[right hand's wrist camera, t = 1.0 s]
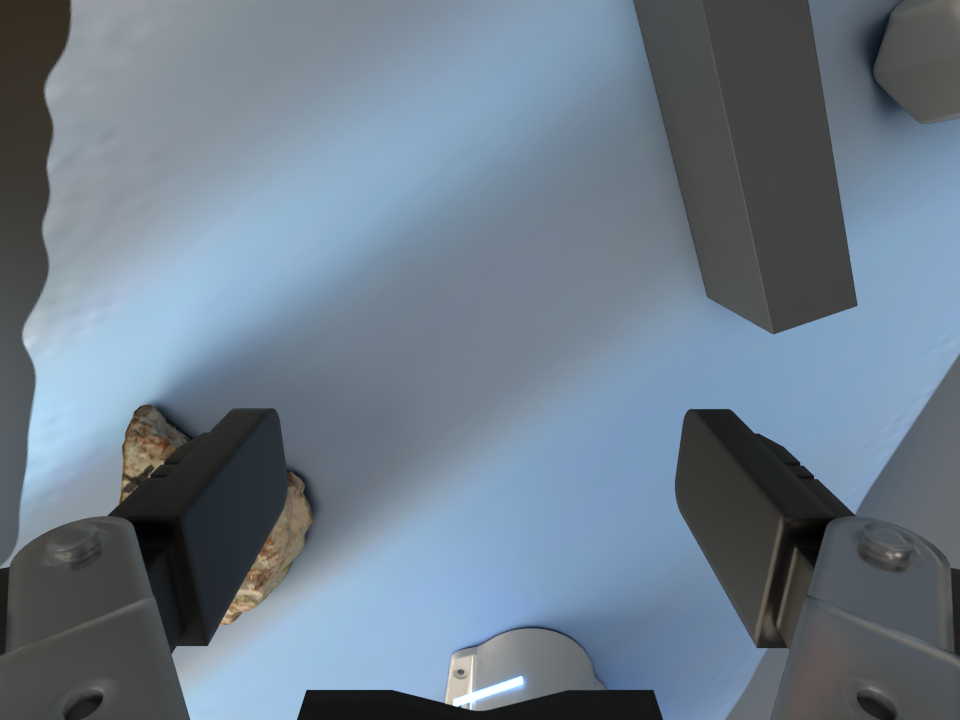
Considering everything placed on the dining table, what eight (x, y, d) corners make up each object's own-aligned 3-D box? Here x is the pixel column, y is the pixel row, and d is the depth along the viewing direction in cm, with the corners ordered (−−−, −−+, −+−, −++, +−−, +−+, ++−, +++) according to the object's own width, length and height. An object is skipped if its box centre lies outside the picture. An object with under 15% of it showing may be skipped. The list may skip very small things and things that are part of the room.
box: (621, -45, 42) (673, -125, 30) (698, -78, 41) (780, -172, 30) (707, 297, 50) (772, 334, 39) (771, 274, 49) (858, 306, 38)
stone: (321, 498, 50) (242, 694, 57) (337, 467, 56) (263, 650, 63) (111, 419, 48) (55, 633, 55) (149, 395, 54) (94, 592, 61)
